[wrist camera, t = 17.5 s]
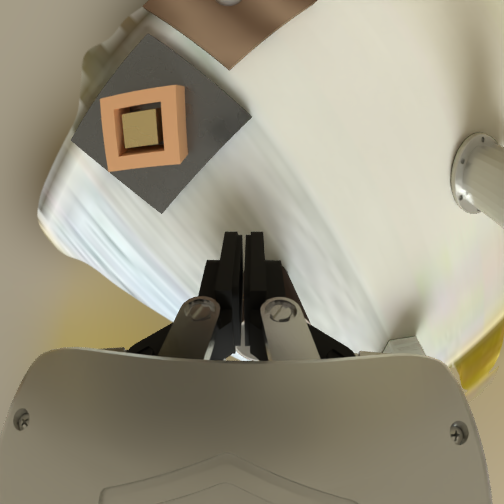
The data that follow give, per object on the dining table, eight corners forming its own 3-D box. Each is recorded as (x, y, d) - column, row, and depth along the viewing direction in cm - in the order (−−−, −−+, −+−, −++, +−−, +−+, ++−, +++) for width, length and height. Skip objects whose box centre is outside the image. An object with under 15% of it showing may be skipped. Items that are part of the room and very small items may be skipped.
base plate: (152, 36, 19) (136, 26, 15) (251, 115, 25) (254, 119, 21) (77, 137, 24) (53, 147, 20) (164, 208, 30) (153, 228, 26)
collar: (117, 97, 21) (99, 98, 18) (184, 86, 22) (175, 84, 18) (123, 161, 25) (108, 172, 22) (187, 154, 25) (180, 164, 22)
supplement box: (388, 339, 46) (411, 392, 36) (416, 335, 47) (441, 383, 36) (375, 362, 50) (393, 411, 39) (402, 357, 51) (422, 402, 40)
